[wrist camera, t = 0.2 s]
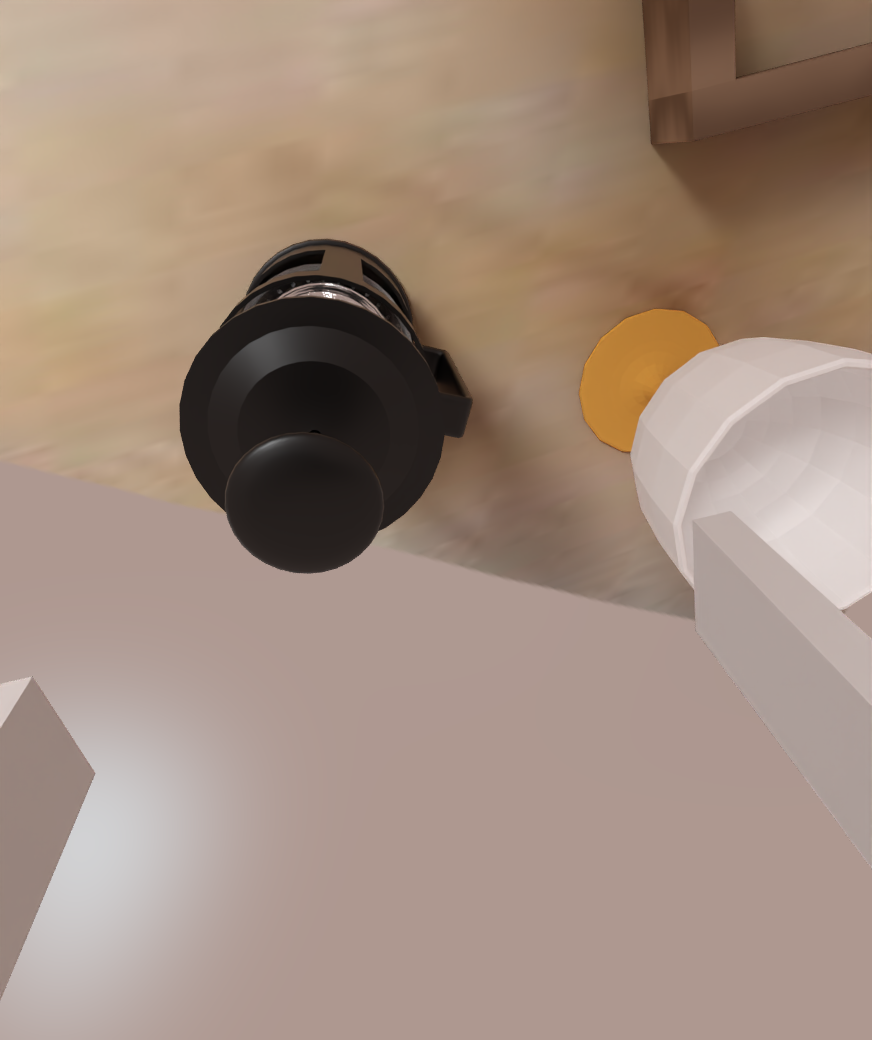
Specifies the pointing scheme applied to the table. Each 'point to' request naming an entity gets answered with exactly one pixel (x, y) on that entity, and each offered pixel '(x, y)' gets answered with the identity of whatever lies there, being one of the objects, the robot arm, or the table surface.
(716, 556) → the robot arm
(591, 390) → the cup
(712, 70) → the shelf
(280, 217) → the table surface
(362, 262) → the french press
